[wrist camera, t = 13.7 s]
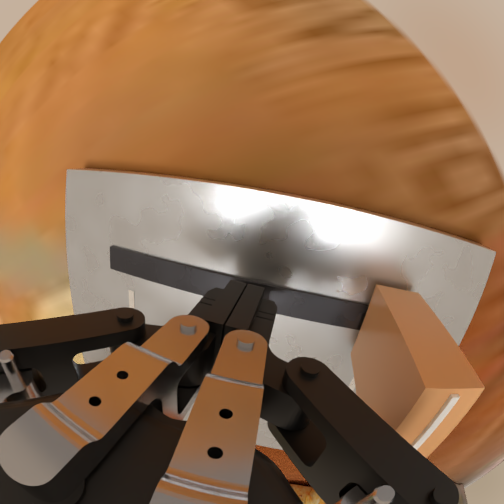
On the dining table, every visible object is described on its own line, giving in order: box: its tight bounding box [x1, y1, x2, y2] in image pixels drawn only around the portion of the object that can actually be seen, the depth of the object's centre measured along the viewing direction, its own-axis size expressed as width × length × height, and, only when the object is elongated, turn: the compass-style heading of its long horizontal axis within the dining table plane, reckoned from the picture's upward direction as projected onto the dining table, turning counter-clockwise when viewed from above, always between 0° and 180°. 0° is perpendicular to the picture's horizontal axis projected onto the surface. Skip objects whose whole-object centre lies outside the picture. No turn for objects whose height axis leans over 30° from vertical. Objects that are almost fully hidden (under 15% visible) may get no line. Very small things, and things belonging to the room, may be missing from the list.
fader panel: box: [65, 168, 496, 450], centre depth 16 cm, size 26×18×2 cm
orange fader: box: [350, 284, 485, 458], centre depth 9 cm, size 2×4×7 cm, turn 171°
